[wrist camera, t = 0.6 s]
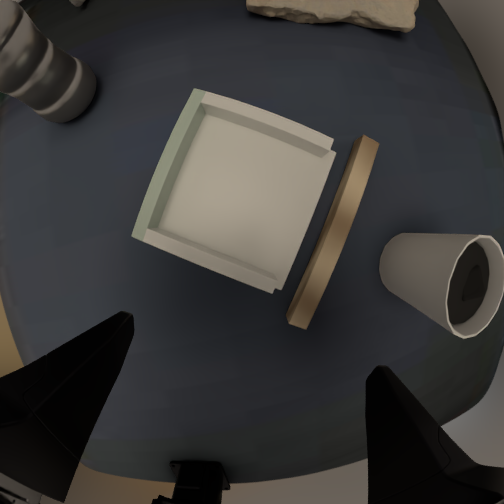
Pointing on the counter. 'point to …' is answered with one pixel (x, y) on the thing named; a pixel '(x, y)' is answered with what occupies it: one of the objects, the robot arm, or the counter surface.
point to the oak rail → (333, 233)
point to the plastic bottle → (41, 69)
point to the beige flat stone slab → (342, 12)
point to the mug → (77, 2)
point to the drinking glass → (446, 277)
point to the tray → (235, 190)
